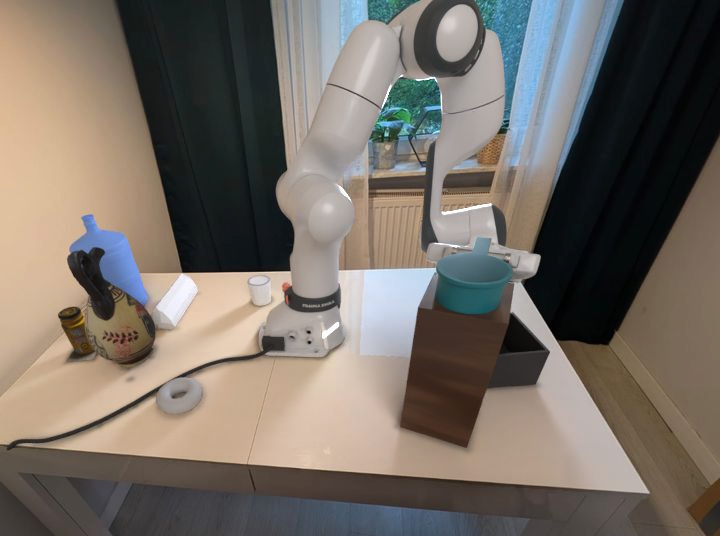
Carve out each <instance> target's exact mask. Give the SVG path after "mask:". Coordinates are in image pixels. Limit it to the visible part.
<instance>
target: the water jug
mask: <svg viewBox="0 0 720 536" xmlns="http://www.w3.org/2000/svg"><path fill="white" fill-rule="evenodd" d="M80 219H81V220H82V222H83V226H84V228H85V230H86V232H85V233H84V234H83V235H81V236H80V237H79V238H78V239H75V241H73V242H72V243H71V244H70V246H69V249H68V251H69V253H70V254H71V253H72V252H74V251H80V250H83V251H85V252H86V253H89V251H90V250H91V249H92V248H93V247H98V248H102V249H104V251H105V254H104V255H103V257H102V258H101V260H100V264H99V265H100V270H101V273H102V276H103V278H104V279H105V280H107V281H108V282H110V283H111V284H112V285H114V286H116V287H118V288H120V289H122V290H123V291H125V292H126V293H128V294H129V295H131V296H132V297H134V298H135V299H136V300H138V301H139V302H140V303H141V304H142V305H143V306H144V307H145V305H146V304H147V302H148V301H149V295H148V292H147V290H146V288H145V285H144V282H143V279H142V277H141V273H140V270H139V268H138V266H137V263H136V261H135V258H134V255H133V253H132V249H131V245H130V242H129V240H128V238H127V236H126V234H124V233H122V232H119V231H114V230H107V229H100V227H98V224H97V221H96V220H95V215H94V214H91V213H90V214H85V215H83V216H80ZM81 265H82V264H81ZM82 268H83V267H82Z"/></svg>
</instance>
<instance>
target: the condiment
mask: <svg viewBox="0 0 720 536" xmlns="http://www.w3.org/2000/svg"><path fill="white" fill-rule="evenodd" d="M57 317H58V319H59V321H60V325H61V328H62V330H63V332H64V334H65V335H66V338H67V339H68V342H69V343H70V345H71V346H72V347H71V348H72V349H73V350H72V351H71V352H70V354H69V355H68V357H67V358H66V359H65V362H79V361H81V362H83V361H89V360H90V361H91V360H94V359H95V357H96V356H97V355H98V354H97V353H96V352H95V351H94V350H93V348H92V347H91V345H90V343H89V341H88V338H87V335H86V331H85V324H84V319H85V314H84V313H83V312H82V310H81V308H80V307H79V306H68V307H65V308H63V309H62V310H61V311H59V312H58V314H57Z"/></svg>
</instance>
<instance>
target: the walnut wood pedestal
mask: <svg viewBox="0 0 720 536" xmlns="http://www.w3.org/2000/svg"><path fill="white" fill-rule="evenodd" d="M437 280H438V274H437V271H434V273H433V275H432V277H431V279H430V281H429V283H428V285H427V287H426V290H425V292H424V294H423V296H422V297H421V301H420V302H419V304H418V306H417V311H416V318H415V324H414V332H413V337H412V343H411V350H410V359H409V365H408V371H407V377H406V378H407V379H406V384H405V390H404V398H403V404H402V410H401V417H400V423H399V428H402V429H405V430H409V431H412V432H414V433H418V434H421V435H425V436H427V437H431V438H433V439H436V440H441V441H443V442H445V443H449V444H453V445H455V446H459V447H463V448H465V449H467V448H468V447H469V443H470V440H471V437H472V434H473V431H474V429H475V425H476V423H477V419H478V416H479V414H480V410H481V408H482V405H483V402H484V399H485V397H486V396H485V395H486V393H487V390H488V389H487V387H488V384H489V381H490V378H491V375H492V372H493V369H494V366H495V363H496V360H497V357H498V354H499V351H500V348H501V345H502V342H503V339H504V336H505V333H506V330H507V327H508V324H509V318H510V313H511V311H512V304H513V296H514V289H515V282H514V283H511V282H508V283H506V285H505V288H504V291H503V295H502V298H501V301H500V304H499V306H498V307H497V308H496V309H495V310H493V311H491V312H488V313H484V314H464V313H458V312H455V311H452V310H449V309H447V308H445V307H443V306H442V305H440V304H439V303H438V302H437V300H436V299H435V291H436V286H437Z"/></svg>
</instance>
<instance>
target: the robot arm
mask: <svg viewBox="0 0 720 536" xmlns="http://www.w3.org/2000/svg"><path fill="white" fill-rule="evenodd" d="M482 15H483V14H482V12H481V9H480V8H479V5H478V4H477V2H476V1H475V0H418V1H416V2H414V3H413V4H410V5H409V6H408V7H404V8H403V9H401V10H399V11H398V12H396V13H395V14H394V15H393V16H392V17H391V18H390V19H389V20H387V22H386V23H385V22H383V21H380V20H376V19H369V20H363V21H361V22H359V23H358V24H357V25H355V27H354V28H353V29H352V30H351V31H350V33H349V35H348V36H347V38H346V40H345V42H344V44H343V45H342V48H341V49H340V52H339V54H338V56H337V58H336V59H335V62H334V65H333V67H332V68H331V71H330V73H329V76H328V79H327V81H326V84H325V86H324V90H323V93H322V95H321V98H320V100H319V103H318V106H317V108H316V111H315V114H314V116H313V119H312V122H311V124H310V127H309V129H308V131H307V134H306V135H305V138H304V140H303V142H302V143H301V145H300V147H299V148H298V150H297V152H296V154H295V155H294V157H293V159H292V161H291V162H290V164H289V166H288V168H287V170H286V171H285V172H283V173H282V174H281V175H280V176H279V177H278V178H279V179H278V180H277V182H276V186H275V197H276V201H277V204H278V207H279V209H280V211H281V212H282V213H283V215H284V216H285V217H286V218H287V219H288V220H289V221H290V222H291V225H292V228H293V233H294V237H293V238H294V239H293V248H292V252H291V253H290V255H289V267H290V268H289V269H290V277H291V278H290V279H291V284H290V283H289V282H283V283H282V284H281V289H282V292H283V297H284V300H283V301H281V302H280V303H279V304H277V305H275V306H274V307H273V308H272V309H270V311H269V312H268V314H267V317H266V321H265V322H264V323H263V324H262V326H261V327H260V329H259V331H258V337H257V338H258V340H257V341H258V347H259V350H260V352H258V353H254V354H250V355H243V356H232V357H225V358H220V359H216V360H212V361H209V362H207V363H204V364H201V365H199V366H196V367H194V368H192V369H189V370H187V371H185V372H182V373H180V374H178V375H177V376H174V377H173V378H172V379H169V380H168V381H166V382H164V383H162V384H160V385H159V386H157V387H155V388H153V389H151V390H150V391H148V392H146V393H145V394H143V395H142V396H140V397H138V398H136V399H135V400H133V401H131V402H129V403H128V404H126V405H124V406H122V407H119V409H117V410H115V411H113V412H111V413H109V414H107V415H106V416H104V417H101V418H99V419H97V420H95V421H93V422H90V423H87V424H85V425H83V426H80V427H77V428H75V429H73V430H70V431H67V432H63V433H61V434H57V435H53V436H50V437H49V436H48V437H45V438H20V439H16V440H14V441H11V442H10V443H9V444H8V446H7V447H6V451H11V450H13V448H14V447H16V446H17V445H21V444H47V443H51V442H55V441H59V440H62V439H64V438H65V439H66V438H68V437H71V436H75V435H77V434H79V433H83V432H84V431H87V430H89V429H92V428H94V427H96V426H99V425H101V424H103V423H105V422H107V421H109V420H111V419H113V418H114V417H116V416H119V415H120V414H122V413H124V412H126V411H127V410H129V409H131V408H133V407H135V406H136V405H138V404H139V403H141V402H143V401H144V400H146V399H148V398H149V397H151V396H152V395H154V394H157V393H158V391H159V389H160V388H161V387H162V386H163V385H164V384H166V383H167V382H169V381H171V380H173V379H176V378H185V377H187V376H190V375H192V374H193V373H196V372H199V371H201V370H204V369H207V368H209V367H211V366H215V365H219V364H222V363H227V362H238V361H247V360H253V359H256V358H259V357H262V356H270V357H271V356H272V357H294V358H295V357H297V358H298V357H299V358H324V357H326V356H327V355H328V354H329V353H330V351H331V350H333V349H335V348H336V347H338V346H340V344H342V343H343V342H344V341H345V338H346V330H345V328H344V325H343V321H342V316H341V305H342V289H341V284H340V253H341V249H342V244H343V241H344V238H346V236H348V234H349V233H350V231H351V230H352V228H353V226H354V223H355V219H356V209H355V206H354V203H353V201H352V200H351V198H350V196H349V195H348V194H347V192H346V191H345V190H344V188H343V187H341V185H339V184H338V182H339V181H340V179H341V178H342V176H343V175H344V174H345V172H346V171H347V169H348V168H349V167H350V166H351V165H352V164H353V163H354V162H355V161H357V160H358V159H359V158H360V157H362V155H363V154H364V152H365V150H366V147H367V144H368V142H369V141H370V138H371V135H372V134H373V131H374V128H375V126H376V124H377V122H378V119H379V117H380V115H381V113H382V110H383V108H384V105H385V103H386V101H387V98H388V95H389V92H390V91H391V89H392V88H393V87H394V85H395V84H396V82H397V81H398V80H407V79H409V80H414V81H423V80H424V81H426V80H430V79H434V80H435V82H436V84H437V86H438V88H439V92H440V106H441V125H440V129H439V132H438V134H437V136H436V139H434V140H433V141H432V142H431V143H430V144H429V146H428V150H427V155H426V161H425V172H424V173H425V174H424V185H423V186H424V188H423V205H422V218H421V223H420V225H419V233H418V241H419V246H420V250H421V251H423V252H424V253H425V261H427V262H430V263H432V264H435V265H437V263H438V261H439V260H440V259H442V258H443V257H446V256H448V255H452V254H458V253H471V251H472V249H473V246H474V243H475V240H476V237H483V238H492V240H491V244H490V248H489V251H488V255H489V256H493V257H496V258H499V259H501V260H503V261H505V262H507V263H508V264H509V265H510V266H511V267H512V269H513V276H512V279H511V280H510V281H509V282H508V283H514V284H515V283H517V284H519V283H521V282H522V281H523V280H527V279H530V278H532V277H534V276H536V274H537V272H538V269H539V266H540V263H541V258H542V257H541V255H540V254H537V253H530V252H529V251H527V250H522V249H517V248H513V247H507V246H506V244H507V235H508V233H507V231H508V230H507V221H506V216H505V213H504V212H503V211H502V210H501V209H500V207H498V206H497V205H495V204H494V203H487V204H481V205H476V206H471V207H467V208H462V209H456V210H451V211H446V212H445V211H442V210H441V209H442V208H441V206H442V196H443V195H442V194H443V186H444V180H445V178H446V176H447V175H448V174H449V173H450V172H451V171H452V170H453V169H455V167H457V166H459V165H460V164H461V163H463V162H464V161H466V160H468V159H469V158H471V157H472V156H475V154H477V153H479V152H480V151H481V150H483V149H485V147H486V146H487V145H489V144H490V143H491V142H492V141H493V139H494V138H495V137H496V136H497V135H498V134H499V131H500V129H501V127H502V125H503V123H504V116H505V107H506V79H505V66H504V59H503V53H502V46H501V42H500V39H499V36H498V34H497V33H496V32H495V31H493V30H492V29H488V28H486V26H485V25H484V19H483V16H482Z"/></svg>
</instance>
